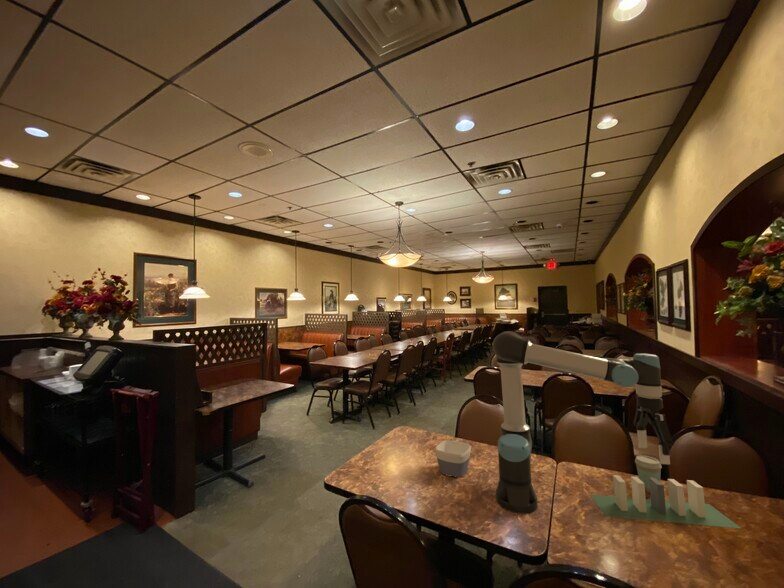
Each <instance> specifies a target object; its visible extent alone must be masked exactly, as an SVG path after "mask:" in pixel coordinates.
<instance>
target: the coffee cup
mask: <svg viewBox="0 0 784 588" xmlns="http://www.w3.org/2000/svg"><path fill="white" fill-rule="evenodd" d="M634 463H635V467H636V470H637V475H638V476H637V477H638V478H639V479H640V480H641V481H642V482H643V483H644V485H645V492H647V493H650V483H649V478H656V479H657V480H658V481H660V482H661V469H662V468H663V467H662V464H661V463H660V460H659V459H658V458H655V457H652V456H649V455H636V457H635V459H634Z"/></svg>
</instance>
